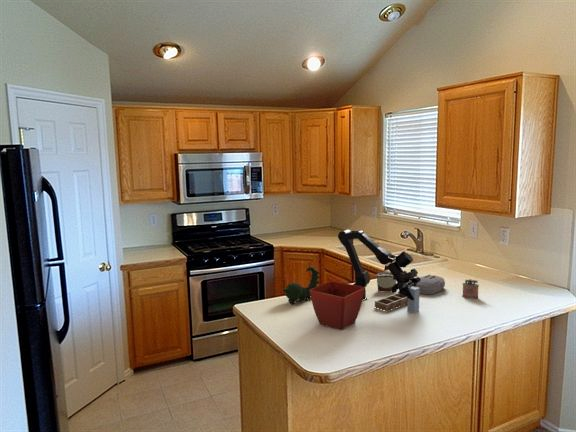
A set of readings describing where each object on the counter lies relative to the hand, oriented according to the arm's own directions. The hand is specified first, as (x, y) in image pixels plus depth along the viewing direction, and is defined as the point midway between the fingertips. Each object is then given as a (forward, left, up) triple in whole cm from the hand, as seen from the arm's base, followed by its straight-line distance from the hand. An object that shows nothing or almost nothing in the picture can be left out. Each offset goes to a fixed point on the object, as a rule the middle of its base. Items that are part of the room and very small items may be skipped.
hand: (415, 298), depth 208 cm
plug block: (0, +1, -7) cm, 7 cm away
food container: (+17, +31, -7) cm, 36 cm away
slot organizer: (0, +13, -7) cm, 15 cm away
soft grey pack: (+35, +14, -7) cm, 39 cm away
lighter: (+40, -8, -7) cm, 41 cm away
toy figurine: (-31, +51, -7) cm, 60 cm away
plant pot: (-39, +16, -7) cm, 43 cm away
